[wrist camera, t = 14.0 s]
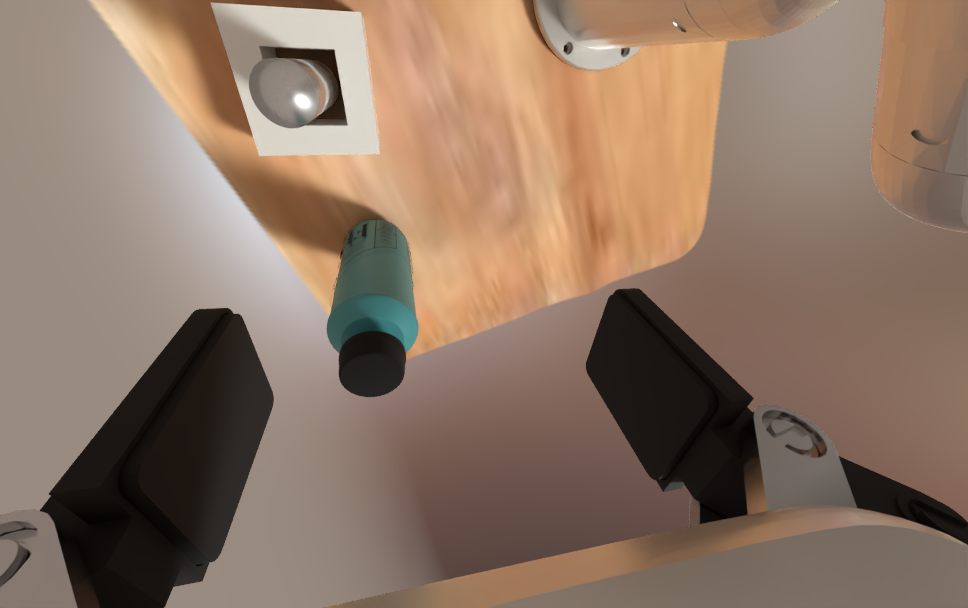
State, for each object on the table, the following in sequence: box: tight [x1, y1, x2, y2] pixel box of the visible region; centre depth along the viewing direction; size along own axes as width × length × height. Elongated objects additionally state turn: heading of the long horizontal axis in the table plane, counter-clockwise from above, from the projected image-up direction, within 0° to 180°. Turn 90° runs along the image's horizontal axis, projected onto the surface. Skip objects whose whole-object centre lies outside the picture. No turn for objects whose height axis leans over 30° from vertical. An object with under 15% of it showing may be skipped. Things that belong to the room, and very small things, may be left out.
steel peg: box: [249, 58, 339, 128], centre depth 24 cm, size 3×3×11 cm
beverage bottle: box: [327, 219, 418, 397], centre depth 29 cm, size 6×7×20 cm
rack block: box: [210, 2, 380, 156], centre depth 27 cm, size 9×9×4 cm
